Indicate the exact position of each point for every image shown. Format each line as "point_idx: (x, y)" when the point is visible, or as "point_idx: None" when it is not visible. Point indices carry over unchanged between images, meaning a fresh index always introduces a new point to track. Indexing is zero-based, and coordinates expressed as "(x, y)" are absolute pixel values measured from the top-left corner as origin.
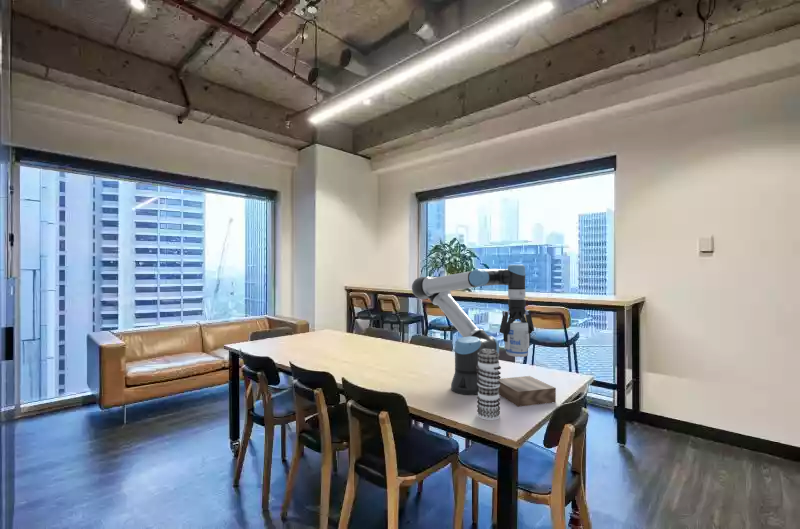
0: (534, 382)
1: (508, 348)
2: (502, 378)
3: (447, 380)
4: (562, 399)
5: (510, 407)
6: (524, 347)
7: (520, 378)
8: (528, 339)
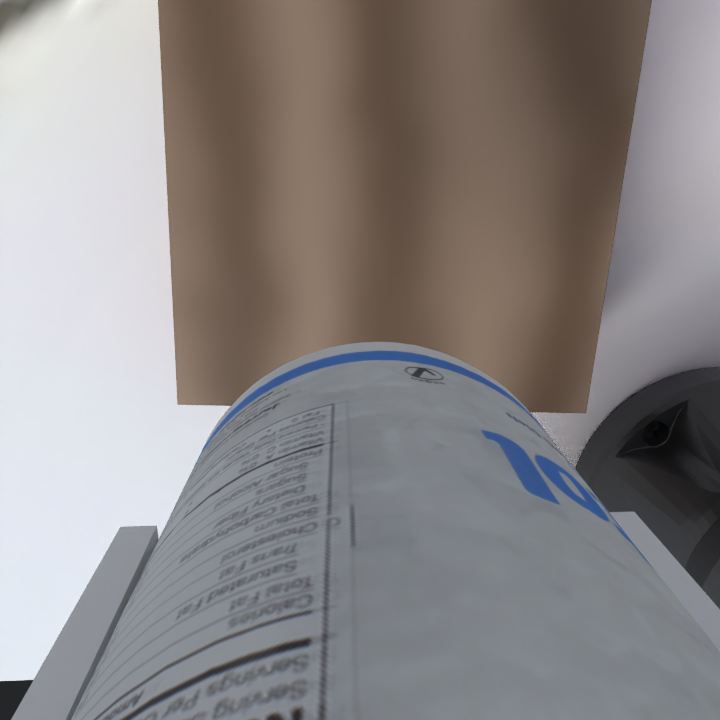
0: (269, 187)
1: (641, 522)
2: None
3: None
4: (75, 20)
5: (661, 3)
6: (359, 394)
7: None
8: (66, 663)
